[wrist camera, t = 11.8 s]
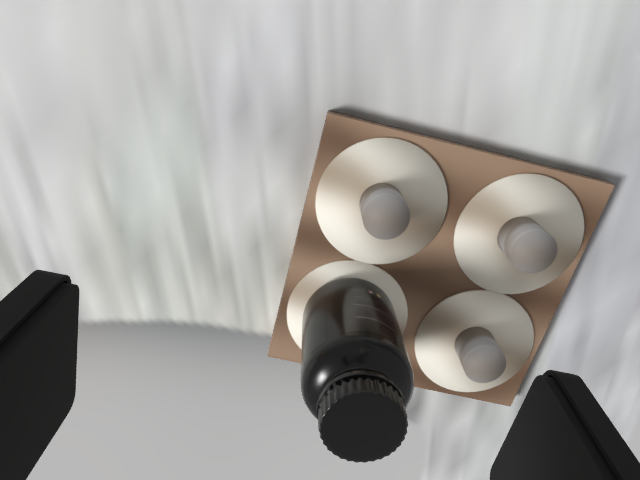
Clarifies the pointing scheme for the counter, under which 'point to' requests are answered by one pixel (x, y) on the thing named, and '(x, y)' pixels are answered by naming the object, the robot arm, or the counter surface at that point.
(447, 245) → the board
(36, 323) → the robot arm
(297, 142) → the counter surface
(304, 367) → the supplement bottle
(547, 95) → the counter surface
